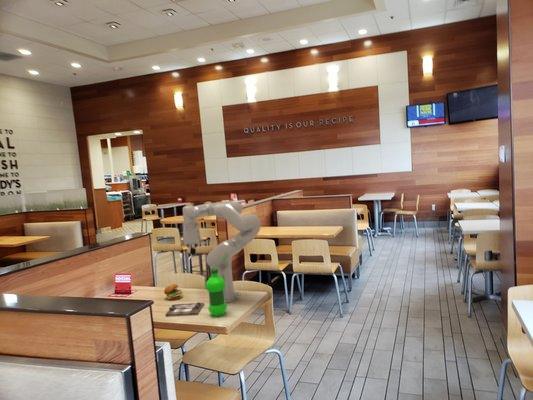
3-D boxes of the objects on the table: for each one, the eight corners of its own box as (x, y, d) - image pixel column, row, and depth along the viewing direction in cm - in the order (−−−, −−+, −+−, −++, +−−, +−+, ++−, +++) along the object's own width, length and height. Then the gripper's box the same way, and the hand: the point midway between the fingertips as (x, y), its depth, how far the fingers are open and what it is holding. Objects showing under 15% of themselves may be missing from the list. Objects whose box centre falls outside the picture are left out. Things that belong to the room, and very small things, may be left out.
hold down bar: (198, 306, 223) (198, 305, 223) (197, 308, 221) (197, 306, 221) (173, 306, 224) (173, 305, 224) (171, 308, 222) (171, 307, 222)
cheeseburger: (180, 300, 241) (174, 285, 240) (164, 304, 243) (159, 290, 242) (186, 294, 250) (181, 280, 250) (171, 299, 253) (166, 284, 252)
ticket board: (204, 304, 230) (203, 299, 229) (197, 314, 214) (196, 308, 214) (174, 306, 231) (174, 300, 231) (165, 316, 215) (164, 310, 215)
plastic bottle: (207, 318, 207) (202, 272, 205) (211, 311, 217) (206, 267, 215) (226, 317, 206) (221, 271, 204) (228, 310, 217) (224, 266, 215)
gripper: (203, 224, 245) (206, 252, 246) (180, 225, 246) (183, 254, 247) (200, 225, 237) (203, 255, 239) (176, 227, 239) (179, 256, 240)
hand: (193, 254), depth 243 cm, fingers closed
